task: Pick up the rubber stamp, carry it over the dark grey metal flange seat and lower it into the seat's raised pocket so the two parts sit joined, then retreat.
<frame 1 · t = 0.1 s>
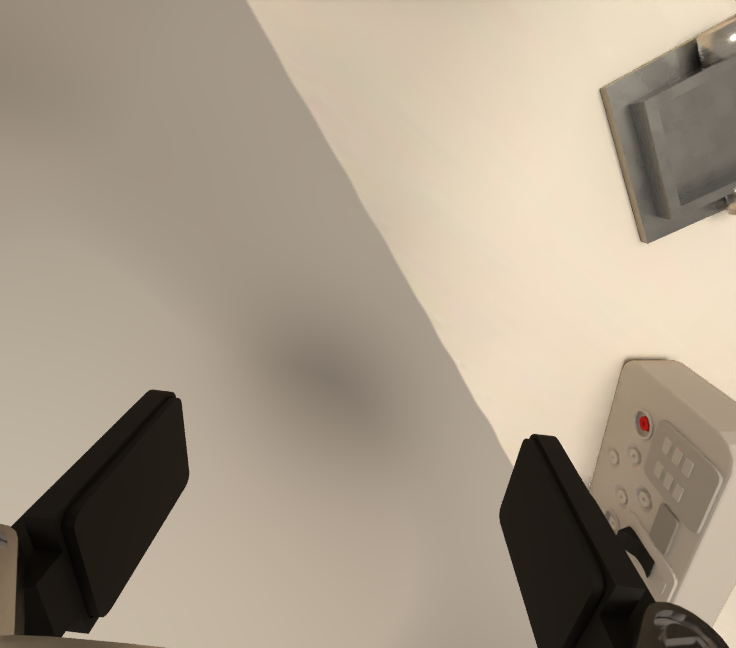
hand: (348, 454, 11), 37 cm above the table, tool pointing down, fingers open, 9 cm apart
flange seat: (714, 124, 39), on the table
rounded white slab: (620, 440, 56), on the table
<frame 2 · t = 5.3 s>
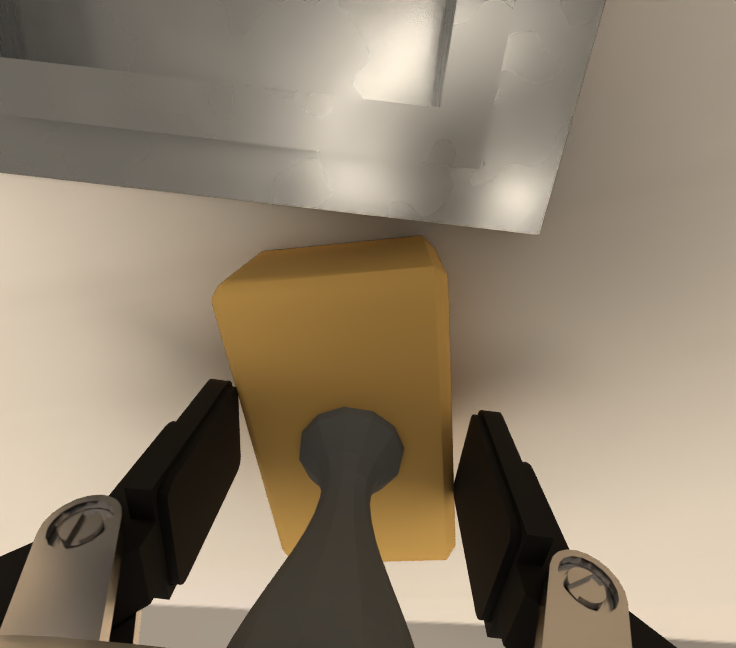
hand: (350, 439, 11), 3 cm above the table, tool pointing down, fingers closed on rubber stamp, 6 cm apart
rubber stamp: (359, 375, 14), on the table, touching gripper
when the fingers open (6 cm above the table, at t = 11.5 s): rubber stamp drops 1 cm, resting on flange seat.
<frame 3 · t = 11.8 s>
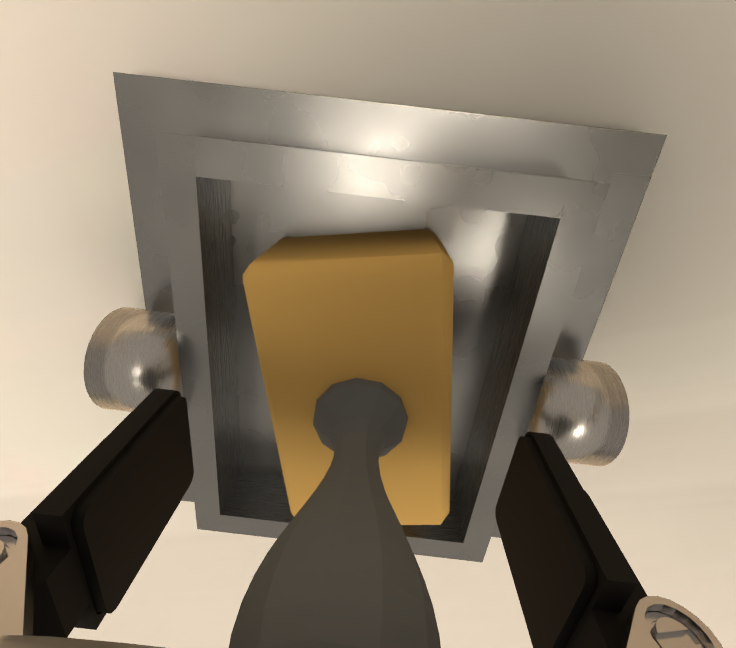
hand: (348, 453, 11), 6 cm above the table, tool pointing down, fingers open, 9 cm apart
rubber stamp: (365, 356, 16), point 1 cm above the table, touching flange seat
flange seat: (362, 346, 17), on the table
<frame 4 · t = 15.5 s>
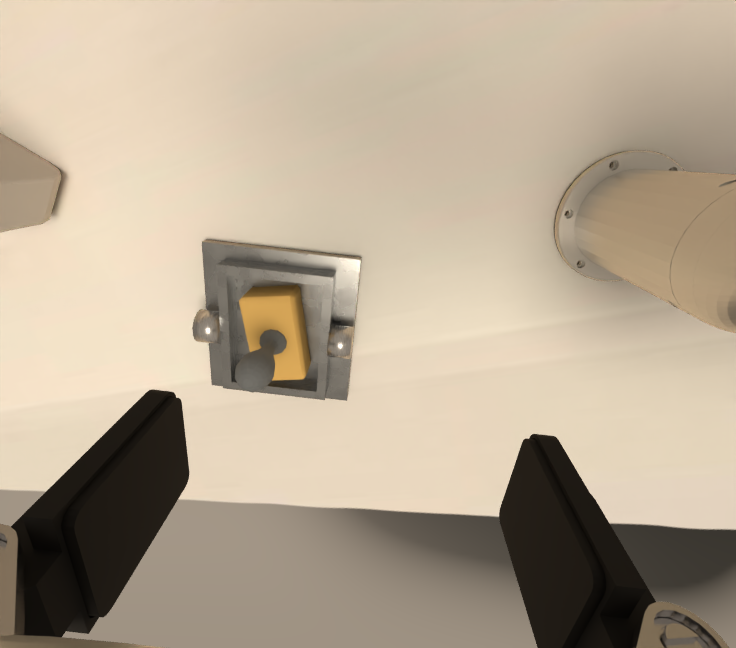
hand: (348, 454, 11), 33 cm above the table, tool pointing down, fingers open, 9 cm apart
rubber stamp: (282, 326, 45), point 1 cm above the table, touching flange seat
flange seat: (282, 323, 46), on the table
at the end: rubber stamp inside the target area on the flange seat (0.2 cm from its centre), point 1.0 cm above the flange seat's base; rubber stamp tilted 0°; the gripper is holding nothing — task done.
